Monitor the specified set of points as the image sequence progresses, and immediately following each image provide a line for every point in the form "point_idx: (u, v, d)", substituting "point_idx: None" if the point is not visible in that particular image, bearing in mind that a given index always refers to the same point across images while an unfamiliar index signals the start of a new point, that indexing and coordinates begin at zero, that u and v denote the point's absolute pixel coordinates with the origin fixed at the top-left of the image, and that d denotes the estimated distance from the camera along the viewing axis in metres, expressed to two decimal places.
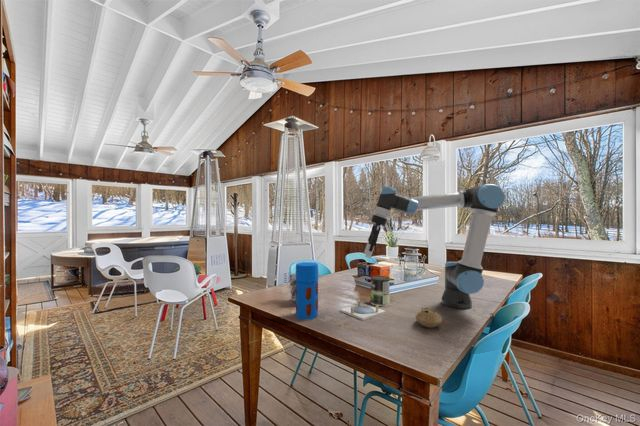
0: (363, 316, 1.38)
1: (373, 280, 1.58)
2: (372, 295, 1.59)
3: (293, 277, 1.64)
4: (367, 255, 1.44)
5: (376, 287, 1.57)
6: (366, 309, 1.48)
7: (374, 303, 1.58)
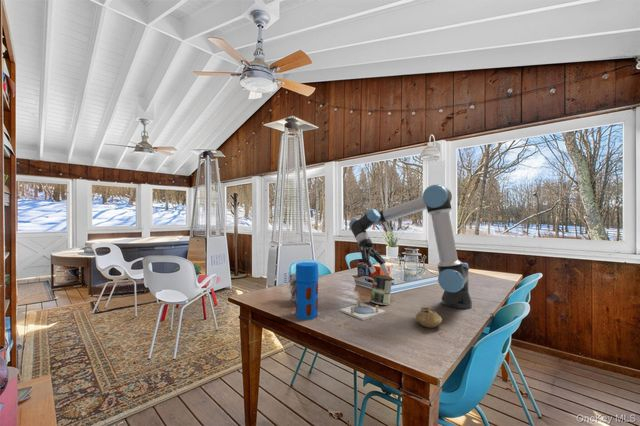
0: (363, 316, 1.38)
1: (376, 278, 1.59)
2: (374, 292, 1.59)
3: (293, 277, 1.64)
4: (371, 271, 1.55)
5: (378, 285, 1.57)
6: (366, 309, 1.48)
7: (374, 301, 1.58)
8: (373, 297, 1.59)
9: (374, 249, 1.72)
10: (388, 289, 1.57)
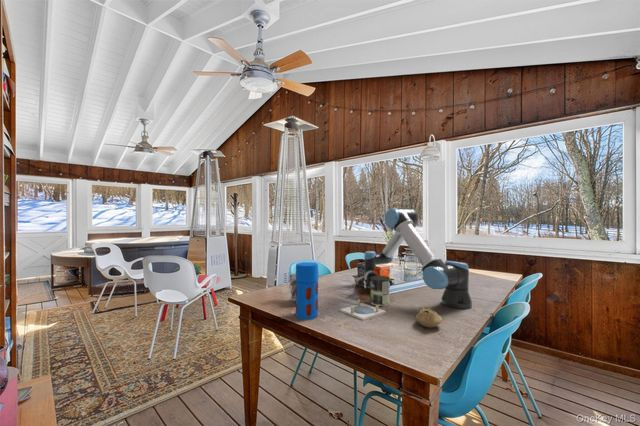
0: (363, 316, 1.38)
1: (372, 280, 1.58)
2: (372, 295, 1.59)
3: (293, 277, 1.64)
4: (364, 286, 1.71)
5: (376, 287, 1.57)
6: (366, 309, 1.48)
7: (374, 303, 1.58)
8: (372, 299, 1.59)
9: None
10: (386, 290, 1.57)
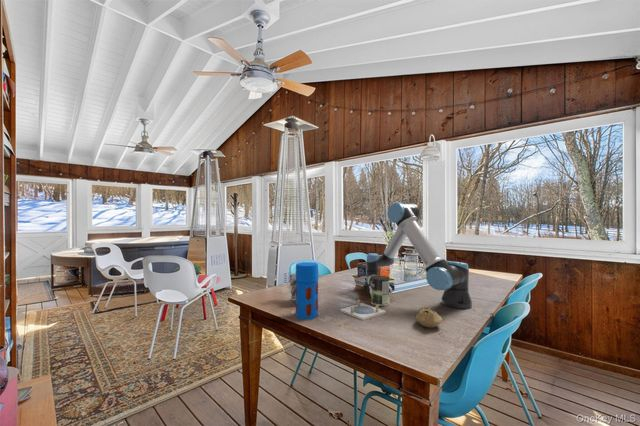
0: (363, 316, 1.38)
1: (373, 280, 1.59)
2: (372, 294, 1.59)
3: (293, 277, 1.64)
4: (370, 292, 1.58)
5: (376, 287, 1.57)
6: (366, 309, 1.48)
7: (374, 303, 1.58)
8: (372, 299, 1.59)
9: None
10: (386, 290, 1.57)
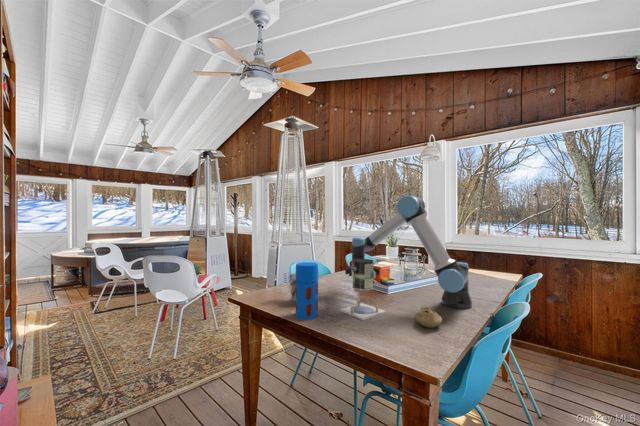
0: (363, 316, 1.38)
1: (354, 262, 1.46)
2: (354, 278, 1.47)
3: (293, 277, 1.64)
4: (352, 275, 1.45)
5: (358, 270, 1.45)
6: (366, 309, 1.48)
7: (355, 287, 1.45)
8: (354, 283, 1.47)
9: None
10: (369, 273, 1.44)
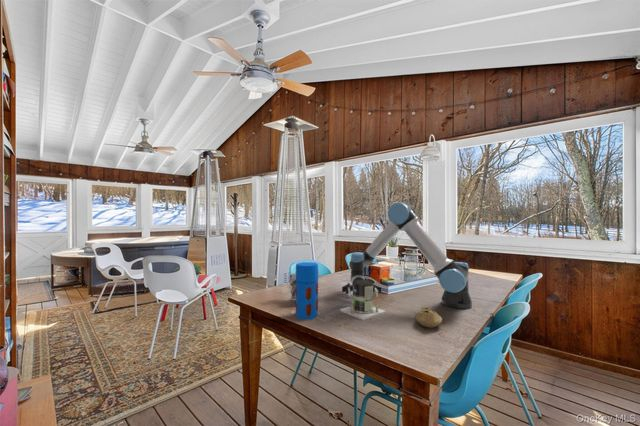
0: (363, 316, 1.38)
1: (354, 284, 1.44)
2: (354, 300, 1.45)
3: (293, 277, 1.64)
4: (348, 294, 1.45)
5: (358, 292, 1.43)
6: None
7: (355, 310, 1.44)
8: (354, 305, 1.45)
9: None
10: (369, 295, 1.43)
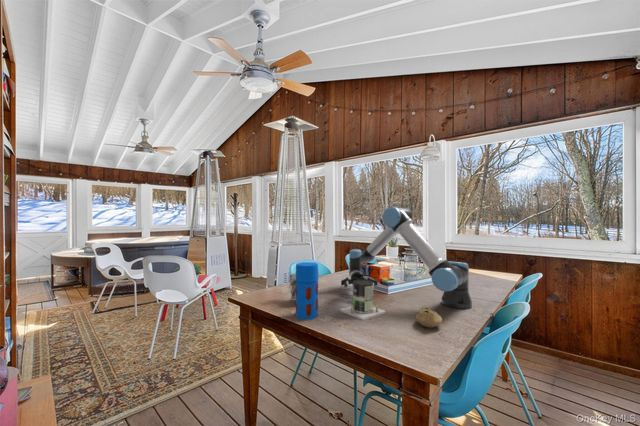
0: (363, 316, 1.38)
1: (354, 284, 1.44)
2: (354, 300, 1.45)
3: (293, 277, 1.64)
4: (347, 287, 1.58)
5: (358, 292, 1.43)
6: None
7: (355, 310, 1.44)
8: (354, 305, 1.45)
9: (367, 278, 1.73)
10: (369, 295, 1.43)
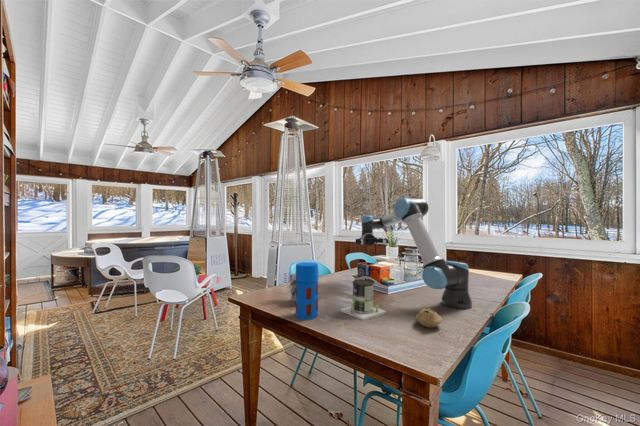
0: (363, 316, 1.38)
1: (354, 284, 1.44)
2: (354, 300, 1.45)
3: (293, 277, 1.64)
4: (361, 243, 1.75)
5: (358, 292, 1.43)
6: None
7: (355, 310, 1.44)
8: (354, 305, 1.45)
9: (379, 238, 1.90)
10: (369, 295, 1.43)
